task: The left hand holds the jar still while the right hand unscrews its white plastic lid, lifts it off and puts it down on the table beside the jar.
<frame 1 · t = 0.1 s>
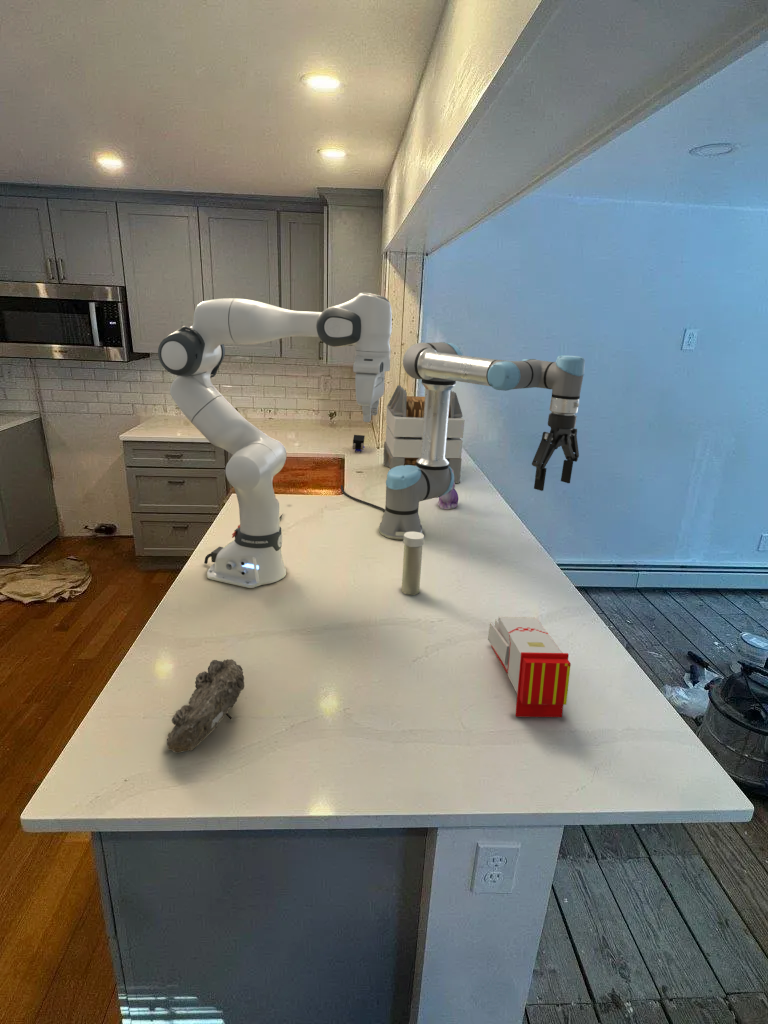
left hand: (370, 418, 145), 48 cm above the counter, tool pointing down, fingers open, 8 cm apart
right hand: (552, 485, 166), 28 cm above the counter, tool pointing down, fingers open, 13 cm apart
figurine character: (358, 450, 313), on the counter
figurine: (447, 506, 230), on the counter
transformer: (419, 473, 275), on the counter
fossil: (212, 717, 108), on the counter
feather: (281, 517, 210), on the counter
jar: (410, 590, 160), on the counter
toy: (520, 675, 125), on the counter
lid: (413, 536, 154), point 17 cm above the counter, screwed on, not yet turned
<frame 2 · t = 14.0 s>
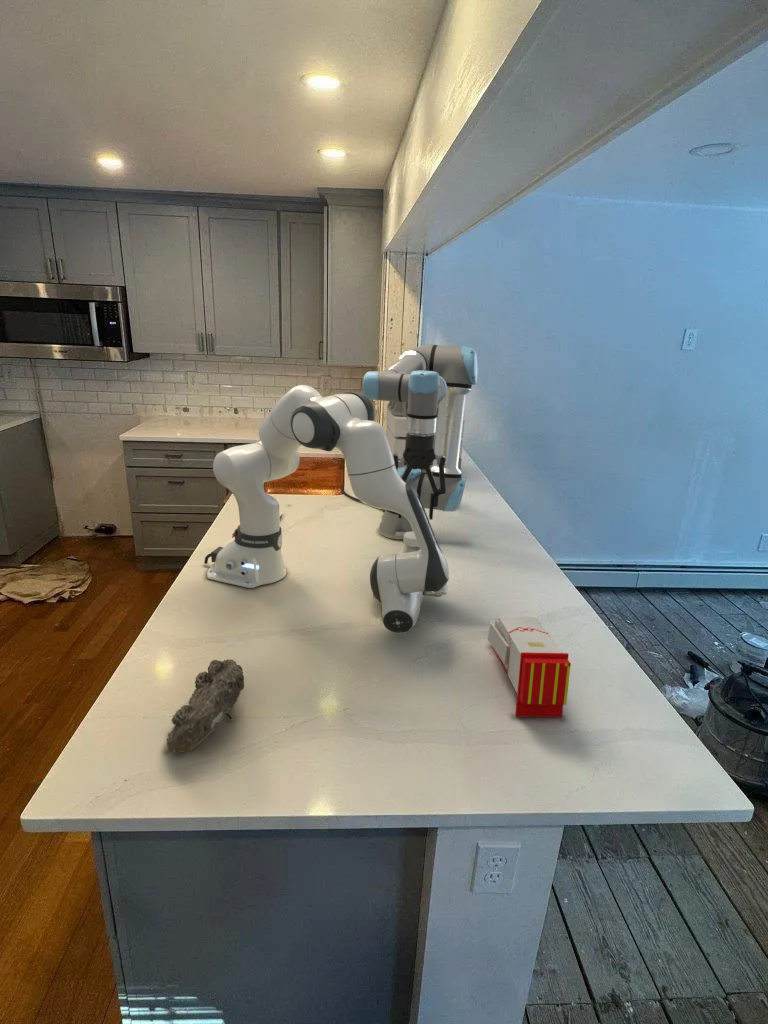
left hand: (412, 568, 159), 7 cm above the counter, tool horizontal, fingers closed on jar, 5 cm apart
right hand: (415, 517, 152), 22 cm above the counter, tool pointing down, fingers open, 8 cm apart
jar: (410, 590, 160), on the counter, touching left hand
everything else where it was.
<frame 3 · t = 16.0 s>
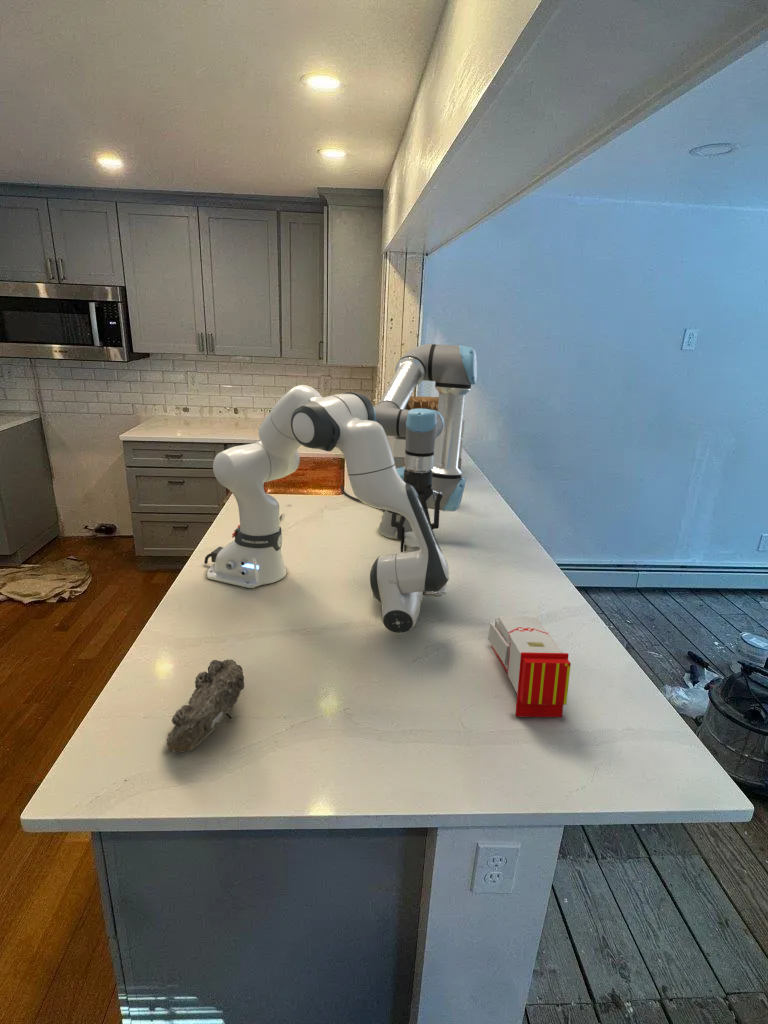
left hand: (412, 568, 159), 7 cm above the counter, tool horizontal, fingers closed on jar, 5 cm apart
right hand: (413, 550, 156), 12 cm above the counter, tool pointing down, fingers closed on lid, 5 cm apart
jar: (410, 590, 160), on the counter, touching left hand
lid: (414, 536, 154), point 17 cm above the counter, screwed on, not yet turned, touching right hand
everything else where it was.
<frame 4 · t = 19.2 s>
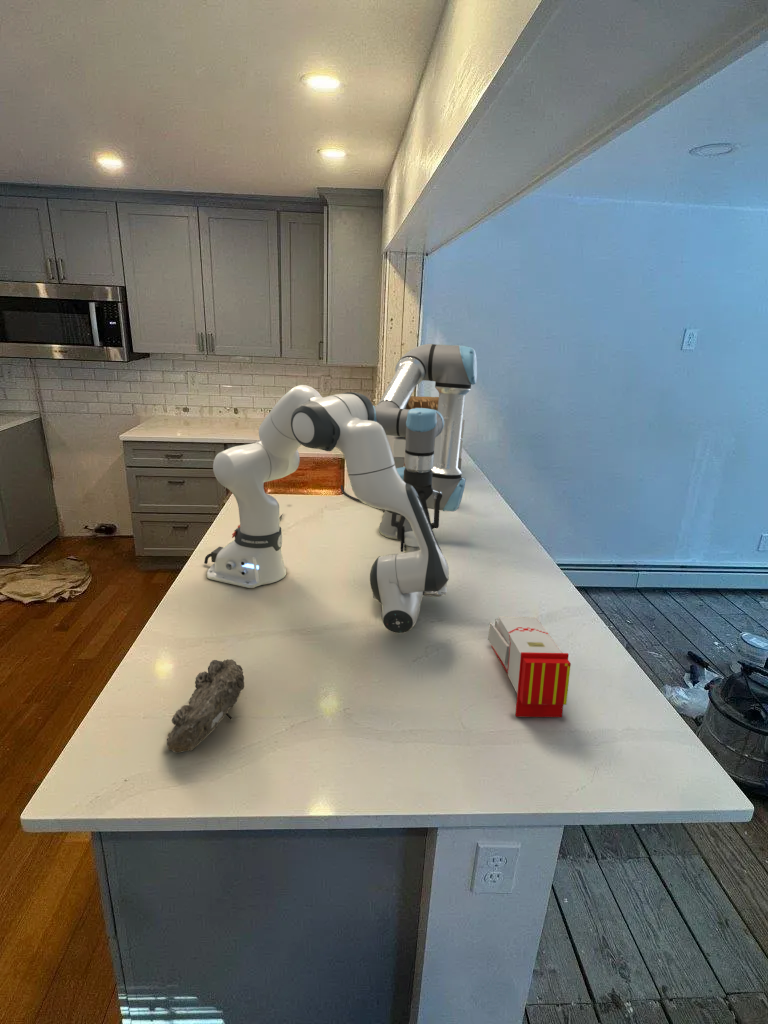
left hand: (411, 568, 159), 7 cm above the counter, tool horizontal, fingers closed on jar, 5 cm apart
right hand: (413, 550, 156), 13 cm above the counter, tool pointing down, fingers closed on lid, 5 cm apart
jar: (410, 590, 160), on the counter, touching left hand
lid: (414, 536, 154), point 17 cm above the counter, turned 111° so far, risen 0.1 cm, still on its thread, touching right hand
everything else where it was.
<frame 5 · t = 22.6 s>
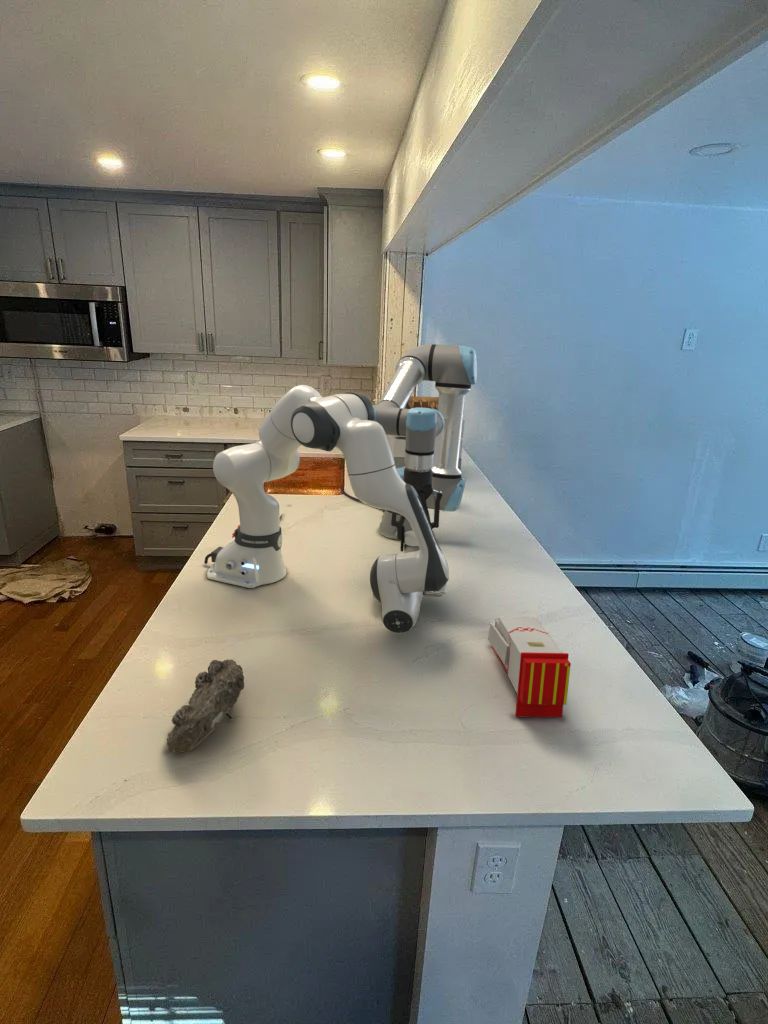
left hand: (411, 568, 159), 7 cm above the counter, tool horizontal, fingers closed on jar, 5 cm apart
right hand: (413, 549, 156), 13 cm above the counter, tool pointing down, fingers closed on lid, 5 cm apart
jar: (410, 590, 160), on the counter, touching left hand
lid: (414, 535, 154), point 17 cm above the counter, turned 223° so far, risen 0.2 cm, still on its thread, touching right hand
everything else where it was.
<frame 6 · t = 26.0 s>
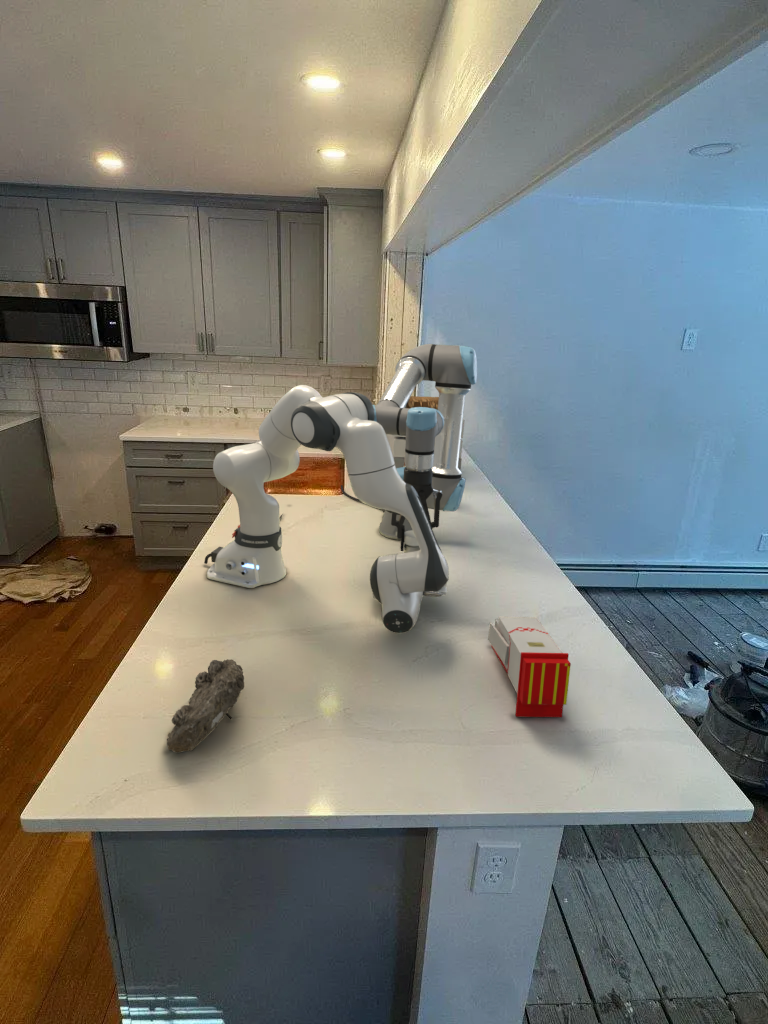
left hand: (411, 568, 159), 7 cm above the counter, tool horizontal, fingers closed on jar, 5 cm apart
right hand: (413, 549, 156), 13 cm above the counter, tool pointing down, fingers closed on lid, 5 cm apart
jar: (410, 590, 160), on the counter, touching left hand
lid: (414, 535, 154), point 17 cm above the counter, turned 334° so far, risen 0.4 cm, still on its thread, touching right hand
everything else where it was.
when the right hand's fingers open (0 cm above the counter, at t = 32.4 s): lid drops 2 cm, point 2 cm above the counter.
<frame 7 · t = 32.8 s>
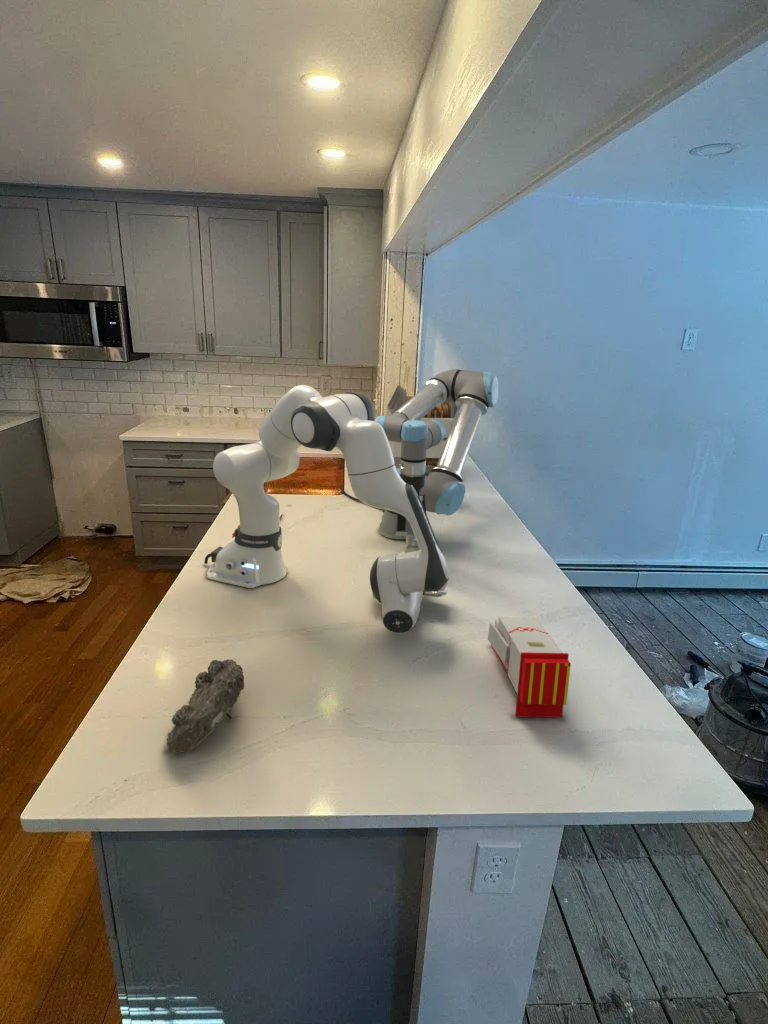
left hand: (412, 568, 159), 7 cm above the counter, tool horizontal, fingers closed on jar, 5 cm apart
right hand: (409, 538, 176), 8 cm above the counter, tool pointing down, fingers open, 13 cm apart
jar: (410, 590, 160), on the counter, touching left hand
lid: (406, 556, 177), point 2 cm above the counter, off its thread
everything else where it was.
when the left hand's fingers open (7 cm above the counter, at t = 33.1 s): jar stays where it is, on the counter.
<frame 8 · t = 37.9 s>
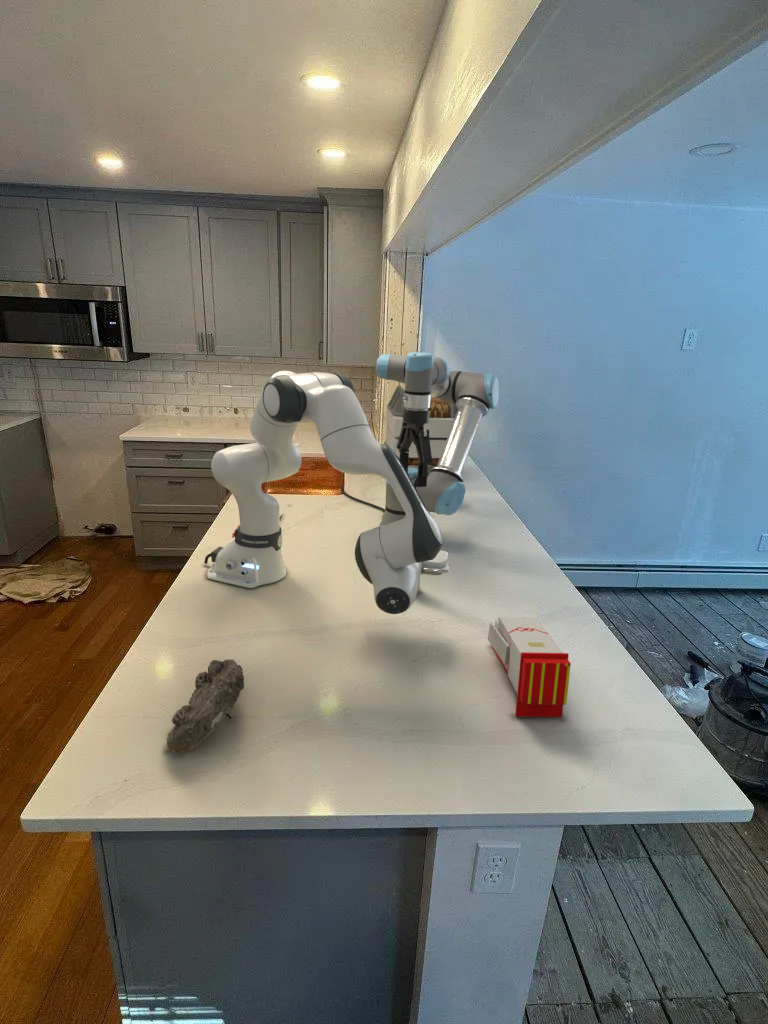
left hand: (409, 545, 143), 19 cm above the counter, tool horizontal, fingers open, 8 cm apart
right hand: (412, 479, 169), 27 cm above the counter, tool pointing down, fingers open, 13 cm apart
jar: (410, 590, 160), on the counter
everything else where it was.
at the end: lid came off its thread; lid point 2.0 cm above the counter; the left hand is holding nothing; the right hand is holding nothing; jar tilted 0°; jar moved 0.0 cm from its start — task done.
